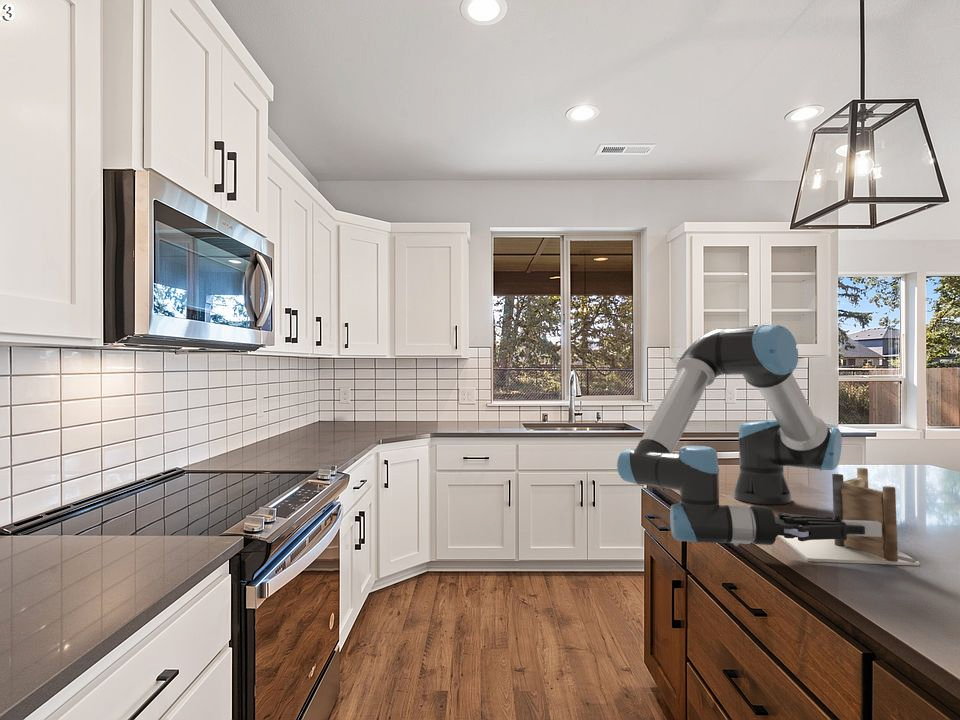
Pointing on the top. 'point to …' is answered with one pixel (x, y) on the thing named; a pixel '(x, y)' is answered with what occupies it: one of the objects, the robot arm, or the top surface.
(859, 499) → the panel
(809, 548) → the card
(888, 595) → the top surface
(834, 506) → the fixed fence section
